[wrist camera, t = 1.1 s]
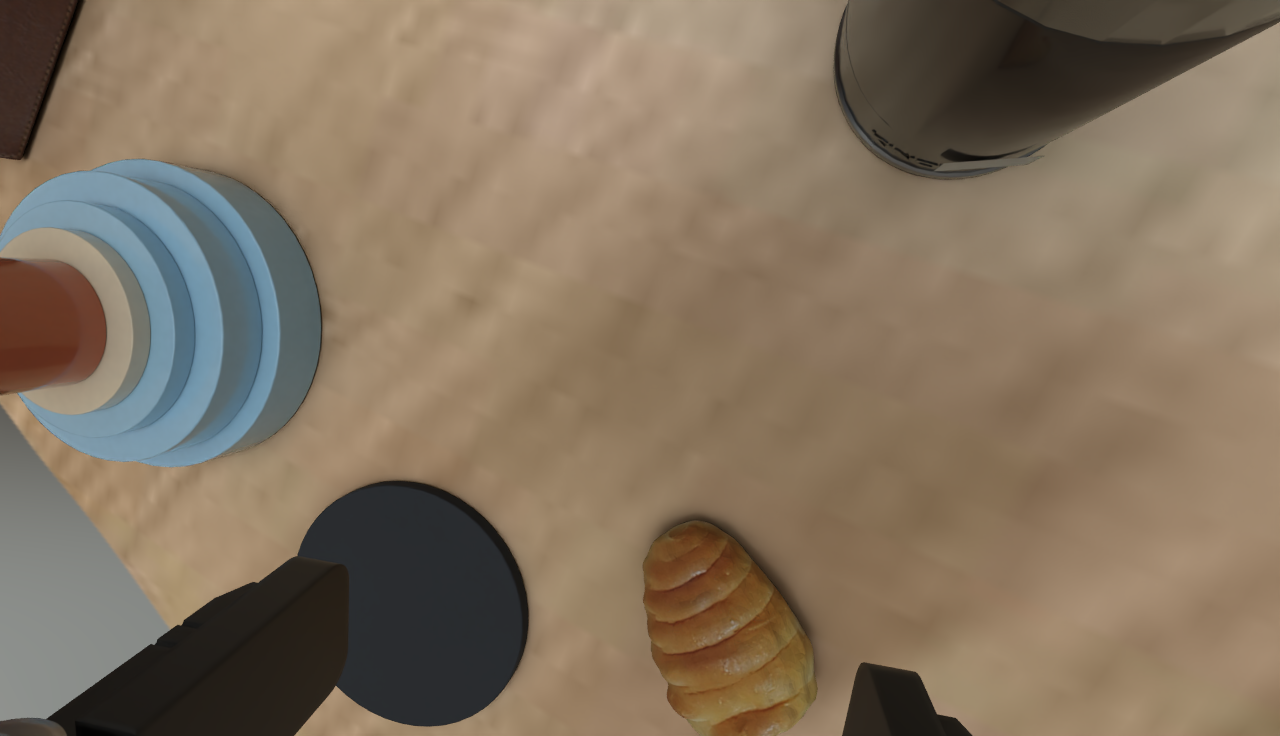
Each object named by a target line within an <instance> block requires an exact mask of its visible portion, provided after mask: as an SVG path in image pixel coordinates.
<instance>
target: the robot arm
mask: <svg viewBox="0 0 1280 736" xmlns="http://www.w3.org/2000/svg"><path fill="white" fill-rule="evenodd" d="M1279 22H1280V0H848V3H847V6H846V8H845V10H844V13H843V16H842V19H841V22H840V26H839V30H838V34H837V39H836V43H835V51H834V66H833V69H834V82H835V88H836V93H837V97H838V100H839V104H840V106H841V109H842V112H843V114H844V116H845V118H846V120H847V122H848V124H849V125H850V127H851V128H852V130H853V131H854V133H855V134H856V136H857V137H858V138H859V139H860V140H861V142H862V143H863V144H864V145H865V146H866V147H867V148H868V149H869V150H870V151H872V152H873V153H874V154H875V155H877V156H878V157H879V158H881V159H882V160H884V161H885V162H887V163H889V164H890V165H892V166H894V167H896V168H898V169H901V170H903V171H906V172H909V173H911V174H915V175H919V176H923V177H929V178H936V179H963V178H970V177H976V176H981V175H985V174H989V173H992V172H995V171H998V170H1001V169H1003V168H1006V167H1008V166H1018V165H1027V164H1029V163H1031V162H1033V161H1035V160H1037V159H1039V158H1042V157H1044V156H1038V157H1028V156H1030V155H1032V154H1033V153H1035V152H1036V151H1038V150H1040V149H1041V148H1043V147H1044V146H1045V145H1047V144H1048V143H1049V142H1052V141H1054V140H1056V139H1058V138H1060V137H1062V136H1064V135H1066V134H1068V133H1070V132H1072V131H1073V130H1075V129H1077V128H1079V127H1081V126H1083V125H1085V124H1087V123H1089V122H1091V121H1093V120H1094V119H1096V118H1098V117H1100V116H1102V115H1104V114H1106V113H1108V112H1110V111H1112V110H1113V109H1115V108H1117V107H1119V106H1121V105H1123V104H1125V103H1127V102H1129V101H1131V100H1132V99H1134V98H1136V97H1138V96H1140V95H1142V94H1144V93H1146V92H1148V91H1150V90H1151V89H1153V88H1155V87H1157V86H1159V85H1161V84H1163V83H1165V82H1167V81H1169V80H1171V79H1172V78H1174V77H1176V76H1178V75H1180V74H1182V73H1184V72H1186V71H1188V70H1190V69H1191V68H1193V67H1195V66H1197V65H1199V64H1201V63H1203V62H1205V61H1207V60H1209V59H1210V58H1212V57H1214V56H1216V55H1218V54H1220V53H1222V52H1224V51H1226V50H1228V49H1230V48H1231V47H1233V46H1235V45H1237V44H1239V43H1241V42H1243V41H1245V40H1247V39H1249V38H1250V37H1252V36H1254V35H1256V34H1258V33H1260V32H1262V31H1264V30H1266V29H1268V28H1269V27H1271V26H1273V25H1275V24H1277V23H1279ZM348 626H349V573H348V570H347V568H346V566H344V565H343V564H338V563H333V562H327V561H322V560H317V559H311V558H306V557H300V556H296V557H293V558H291V559H289V560H288V561H287V562H285V563H284V564H283V565H281V566H280V567H279V568H277V569H276V570H275V571H273V572H272V573H271V574H269V575H268V576H267V577H265V578H264V579H263V580H261V581H260V582H259V583H255V582H252V583H249V584H247V585H245V586H242V587H240V588H238V589H235V590H233V591H231V592H228V593H226V594H223V595H221V596H219V597H216V598H214V599H213V600H211V601H210V602H209V603H207V604H206V605H205V606H203V607H202V608H200V609H199V610H198V611H196V612H195V613H193V614H192V615H191V616H189V617H188V618H186V619H185V620H184V622H183V624H182V625H181V626H180V625H177V626H175V627H174V628H172V629H171V630H170V631H168V632H167V633H165V634H164V635H163V636H161V637H160V638H159V639H158V640H157V643H156V644H155V645H152V644H150V645H149V646H147V647H146V648H145V649H143V650H142V651H141V652H139V653H138V654H136V655H135V656H134V657H132V658H131V659H129V660H128V661H127V662H125V663H124V664H122V665H121V666H119V667H118V668H117V669H115V670H114V671H113V672H111V673H110V674H108V675H107V676H106V677H104V678H103V679H101V680H100V681H99V682H97V683H96V684H95V685H93V686H92V687H90V688H89V689H87V690H86V691H85V692H83V693H82V694H81V695H79V696H78V697H76V698H75V699H73V700H72V701H71V702H69V703H68V704H66V705H65V706H64V707H62V708H61V709H59V710H58V711H57V712H55V713H54V714H53V715H51V716H50V717H48V718H47V719H41V718H20V719H11V720H6V721H0V736H294V735H295V734H296V733H297V732H298V731H299V729H300V728H301V727H302V726H303V725H304V724H305V722H306V721H307V720H308V719H309V718H310V717H311V715H312V714H313V713H314V712H315V711H316V709H317V708H318V707H319V706H320V705H321V704H322V702H323V701H324V700H325V699H326V698H327V697H328V695H329V694H330V693H331V692H332V690H333V689H334V687H335V686H336V684H337V682H338V680H339V678H340V676H341V674H342V671H343V669H344V666H345V663H346V659H347V653H348ZM842 736H972V735H971V734H970V733H969V731H968V730H967V729H966V728H965V727H964V726H963V725H962V724H961V723H960V722H959V721H958V720H957V719H956V718H953V717H948V716H942V715H937V714H936V711H935V709H934V707H933V705H932V702H931V700H930V698H929V696H928V693H927V691H926V689H925V686H924V684H923V682H922V680H921V678H920V676H919V675H918V674H917V673H916V672H913V671H908V670H902V669H897V668H892V667H886V666H881V665H875V664H870V663H865V662H863V663H861V664H860V666H859V668H858V670H857V673H856V677H855V681H854V686H853V690H852V695H851V699H850V704H849V708H848V712H847V717H846V721H845V726H844V730H843V735H842Z"/></svg>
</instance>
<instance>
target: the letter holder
mask: <svg viewBox="0 0 1280 736" xmlns="http://www.w3.org/2000/svg"><path fill="white" fill-rule="evenodd" d="M77 2H78V0H0V158H7V159H13V160H21V158H22V156H23V152H24V150H25V148H26V145H27V142H28V139H29V136H30V134H31V130H32V128H33V125H34V123H35V119H36V116H37V114H38V111H39V108H40V106H41V102H42V100H43V98H44V96H45V93H46V89H47V86H48V85H49V81H50V79H51V76H52V74H53V70H54V66H55V64H56V61H57V58H58V56H59V52H60V49H61V47H62V45H63V41H64V39H65V36H66V33H67V32H68V28H69V25H70V23H71V20H72V16H73V13H74V12H75V9H76V5H77Z"/></svg>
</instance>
